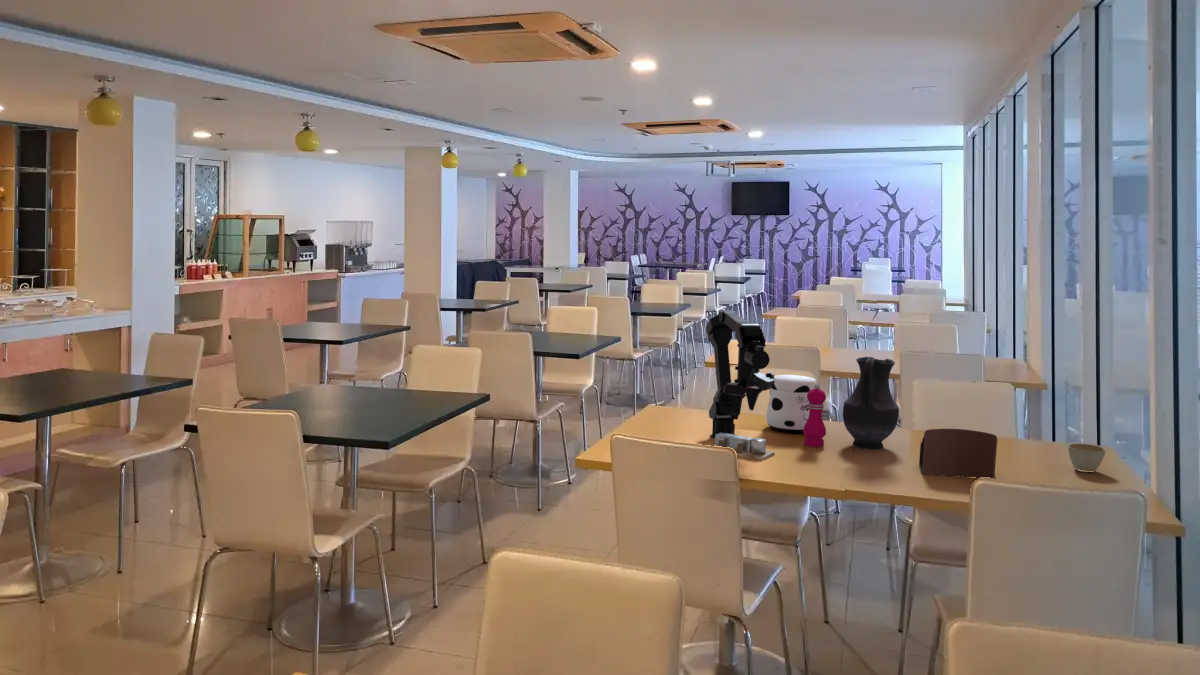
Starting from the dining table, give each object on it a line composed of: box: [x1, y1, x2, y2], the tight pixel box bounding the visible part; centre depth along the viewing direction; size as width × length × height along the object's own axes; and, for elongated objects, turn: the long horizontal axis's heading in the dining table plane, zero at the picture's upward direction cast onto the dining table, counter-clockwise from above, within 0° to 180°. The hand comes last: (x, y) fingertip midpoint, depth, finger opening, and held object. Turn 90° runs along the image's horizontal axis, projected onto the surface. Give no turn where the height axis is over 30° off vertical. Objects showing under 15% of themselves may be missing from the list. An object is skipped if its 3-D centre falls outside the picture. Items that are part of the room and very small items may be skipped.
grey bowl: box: [1067, 443, 1107, 472], centre depth 278 cm, size 10×10×7 cm
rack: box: [713, 439, 776, 461], centre depth 290 cm, size 19×9×4 cm, turn 55°
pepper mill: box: [803, 383, 827, 448], centre depth 302 cm, size 7×7×20 cm
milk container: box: [765, 374, 817, 433], centre depth 323 cm, size 17×17×18 cm
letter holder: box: [918, 428, 998, 480], centre depth 272 cm, size 10×20×14 cm, turn 75°
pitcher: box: [842, 356, 900, 451], centre depth 299 cm, size 17×21×30 cm
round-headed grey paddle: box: [714, 432, 767, 455], centre depth 290 cm, size 16×5×4 cm, turn 55°
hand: (744, 412), depth 292 cm, fingers open, 9 cm apart
